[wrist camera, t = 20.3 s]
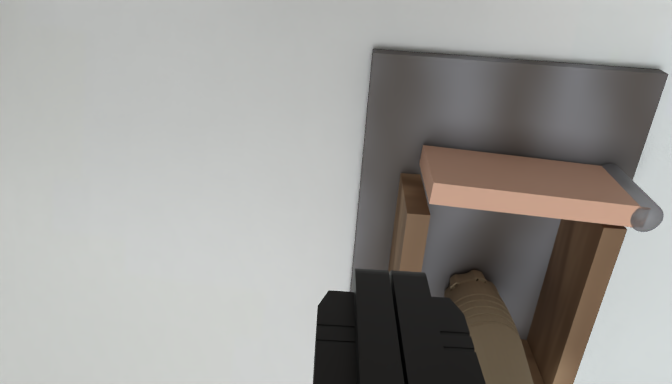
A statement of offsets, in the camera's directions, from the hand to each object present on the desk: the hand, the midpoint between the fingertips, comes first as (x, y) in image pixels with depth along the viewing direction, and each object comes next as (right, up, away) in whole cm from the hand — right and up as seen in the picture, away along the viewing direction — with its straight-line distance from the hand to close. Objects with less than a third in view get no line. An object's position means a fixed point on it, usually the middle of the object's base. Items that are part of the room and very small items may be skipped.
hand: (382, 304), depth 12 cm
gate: (+10, +4, +20) cm, 23 cm away
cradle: (+8, 0, +24) cm, 25 cm away
